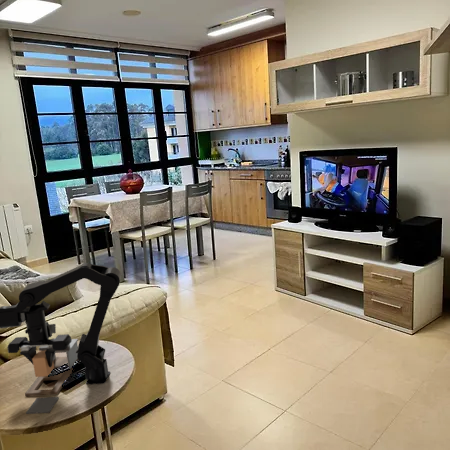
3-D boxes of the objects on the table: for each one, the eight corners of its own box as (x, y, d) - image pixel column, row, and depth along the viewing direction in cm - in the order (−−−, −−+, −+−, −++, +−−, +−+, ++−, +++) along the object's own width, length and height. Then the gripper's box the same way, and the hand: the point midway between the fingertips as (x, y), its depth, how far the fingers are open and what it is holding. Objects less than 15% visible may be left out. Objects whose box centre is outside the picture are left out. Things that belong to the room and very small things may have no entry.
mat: (58, 398, 133) (58, 396, 133) (49, 412, 126) (49, 411, 126) (37, 399, 133) (36, 397, 133) (26, 413, 126) (26, 412, 126)
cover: (80, 356, 156) (77, 334, 154) (72, 368, 148) (68, 346, 146) (52, 357, 156) (49, 336, 154) (42, 370, 148) (38, 348, 146)
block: (54, 367, 141) (51, 350, 140) (47, 376, 136) (44, 358, 135) (42, 368, 141) (39, 350, 140) (35, 376, 136) (32, 358, 135)
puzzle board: (81, 358, 156) (81, 355, 156) (57, 394, 135) (56, 391, 135) (53, 359, 157) (53, 357, 157) (25, 396, 135) (24, 393, 135)
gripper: (74, 311, 143) (80, 352, 146) (19, 314, 143) (27, 356, 147) (60, 325, 132) (68, 370, 135) (2, 329, 132) (11, 374, 136)
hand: (44, 367), depth 138 cm, fingers closed on block, 4 cm apart
